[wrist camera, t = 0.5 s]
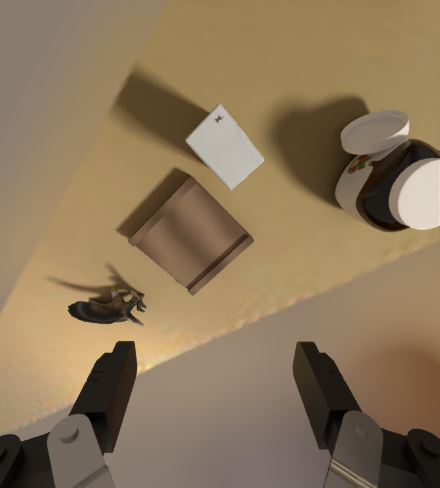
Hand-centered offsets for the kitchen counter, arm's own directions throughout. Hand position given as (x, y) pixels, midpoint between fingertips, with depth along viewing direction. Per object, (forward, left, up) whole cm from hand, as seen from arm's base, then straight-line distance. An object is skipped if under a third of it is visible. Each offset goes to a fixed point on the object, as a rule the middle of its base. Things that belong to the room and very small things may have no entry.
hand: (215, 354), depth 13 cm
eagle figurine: (+19, -1, -26) cm, 32 cm away
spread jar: (-19, +9, -26) cm, 34 cm away
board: (+4, 0, -25) cm, 26 cm away
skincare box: (-7, -6, -26) cm, 27 cm away
